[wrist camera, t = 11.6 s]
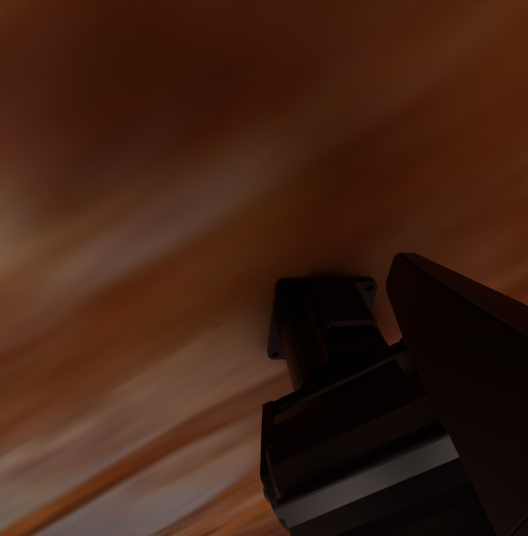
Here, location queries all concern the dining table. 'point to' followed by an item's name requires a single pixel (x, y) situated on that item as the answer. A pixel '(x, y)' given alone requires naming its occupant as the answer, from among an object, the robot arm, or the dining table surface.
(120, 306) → the dining table surface
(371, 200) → the dining table surface
